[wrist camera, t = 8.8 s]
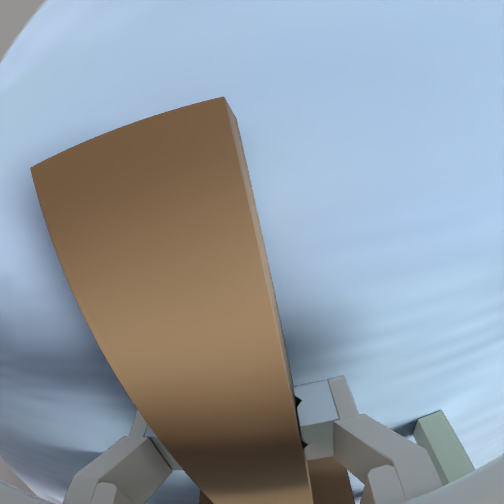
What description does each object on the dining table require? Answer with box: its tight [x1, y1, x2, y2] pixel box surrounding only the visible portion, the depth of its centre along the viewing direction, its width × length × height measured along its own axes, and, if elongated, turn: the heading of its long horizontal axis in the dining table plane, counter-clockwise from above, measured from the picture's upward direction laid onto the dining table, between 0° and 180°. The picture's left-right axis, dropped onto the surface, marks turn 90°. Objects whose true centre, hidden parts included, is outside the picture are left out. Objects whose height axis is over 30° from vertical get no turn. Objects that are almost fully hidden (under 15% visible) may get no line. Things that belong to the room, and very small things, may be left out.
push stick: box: [30, 97, 355, 504], centre depth 8 cm, size 14×6×4 cm, turn 12°
